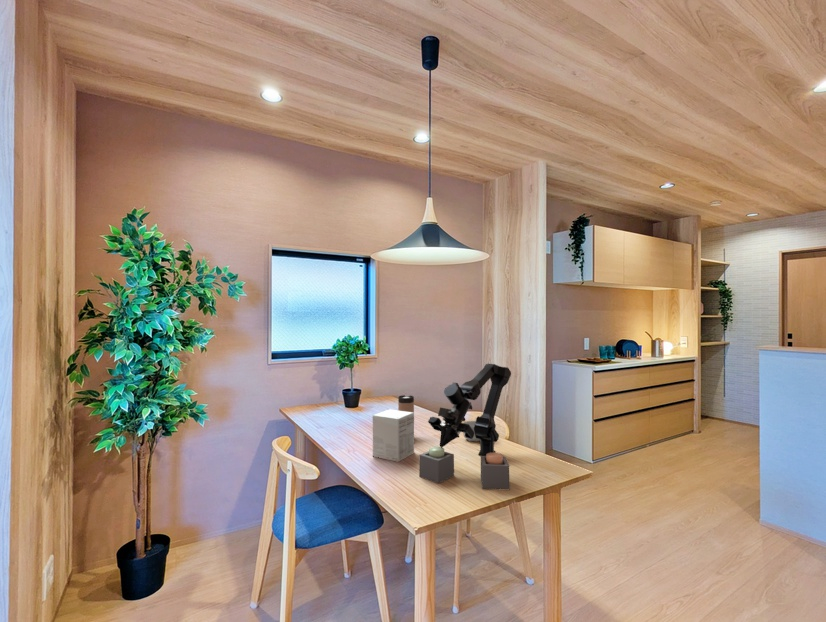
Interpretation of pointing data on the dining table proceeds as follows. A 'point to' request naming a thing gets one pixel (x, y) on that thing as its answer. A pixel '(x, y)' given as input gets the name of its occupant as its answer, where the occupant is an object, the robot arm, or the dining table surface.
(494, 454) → the terracotta button
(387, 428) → the supplement box
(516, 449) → the dining table surface
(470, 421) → the teacup
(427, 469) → the grey button housing
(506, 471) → the terracotta button housing
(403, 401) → the travel mug
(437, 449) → the green button
